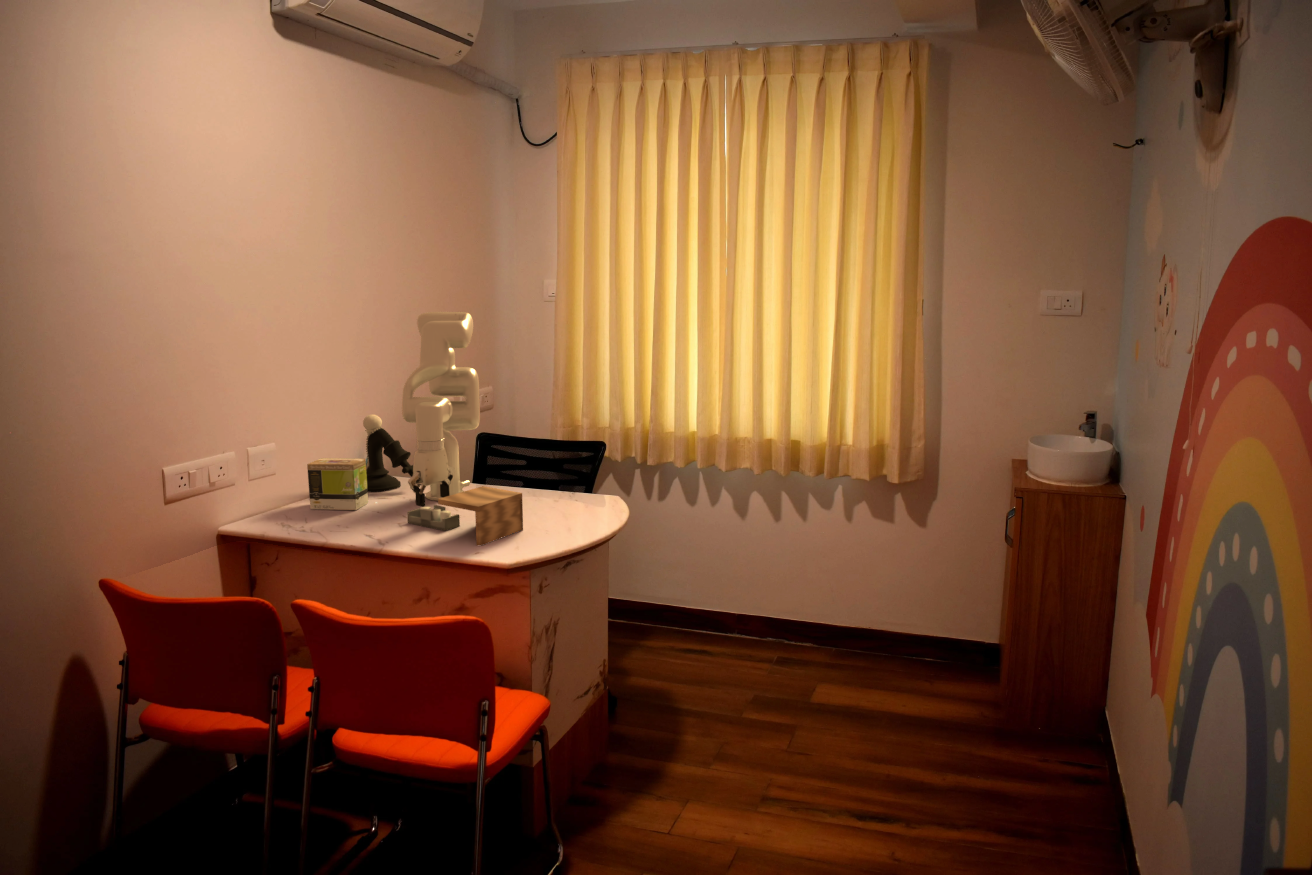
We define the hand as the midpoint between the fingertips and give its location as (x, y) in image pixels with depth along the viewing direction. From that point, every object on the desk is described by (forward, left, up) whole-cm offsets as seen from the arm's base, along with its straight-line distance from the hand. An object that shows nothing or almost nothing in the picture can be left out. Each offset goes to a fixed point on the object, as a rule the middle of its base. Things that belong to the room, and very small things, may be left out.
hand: (433, 501), depth 267 cm
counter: (0, +19, -7) cm, 20 cm away
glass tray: (+1, +1, -7) cm, 7 cm away
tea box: (+2, -39, -7) cm, 40 cm away
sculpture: (-23, -45, -7) cm, 51 cm away
